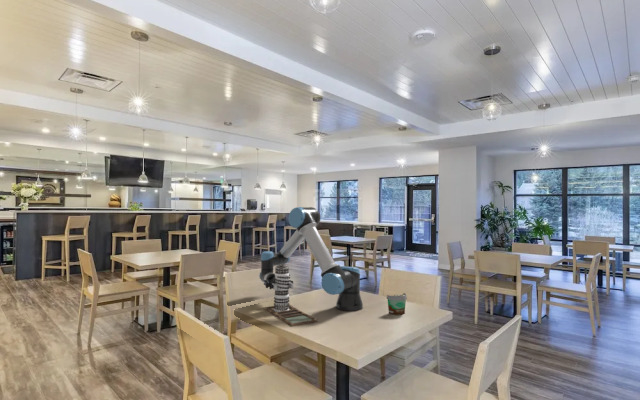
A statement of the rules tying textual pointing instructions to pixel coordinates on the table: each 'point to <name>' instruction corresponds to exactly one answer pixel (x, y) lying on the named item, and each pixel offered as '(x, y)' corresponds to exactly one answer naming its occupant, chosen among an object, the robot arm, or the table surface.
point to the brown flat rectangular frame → (293, 316)
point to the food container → (397, 304)
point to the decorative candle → (281, 288)
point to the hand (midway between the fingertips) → (284, 287)
